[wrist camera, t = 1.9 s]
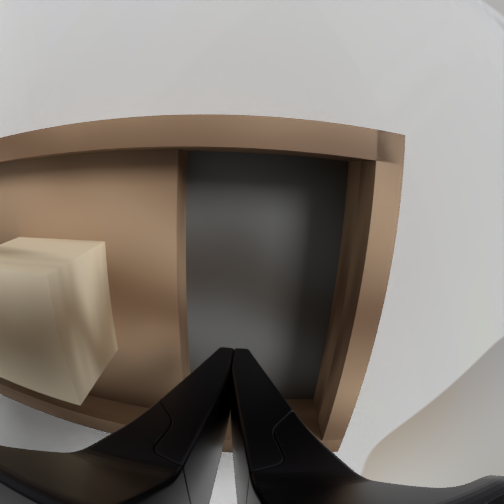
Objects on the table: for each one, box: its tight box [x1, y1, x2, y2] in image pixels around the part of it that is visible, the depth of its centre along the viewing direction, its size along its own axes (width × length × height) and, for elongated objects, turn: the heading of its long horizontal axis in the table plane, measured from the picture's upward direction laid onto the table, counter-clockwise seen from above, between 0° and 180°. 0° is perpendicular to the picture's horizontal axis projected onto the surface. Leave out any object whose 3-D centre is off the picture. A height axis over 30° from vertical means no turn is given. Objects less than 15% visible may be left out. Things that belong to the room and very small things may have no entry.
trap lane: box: [0, 115, 405, 452], centre depth 12 cm, size 14×35×4 cm, turn 87°
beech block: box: [0, 237, 118, 406], centre depth 10 cm, size 5×5×4 cm
